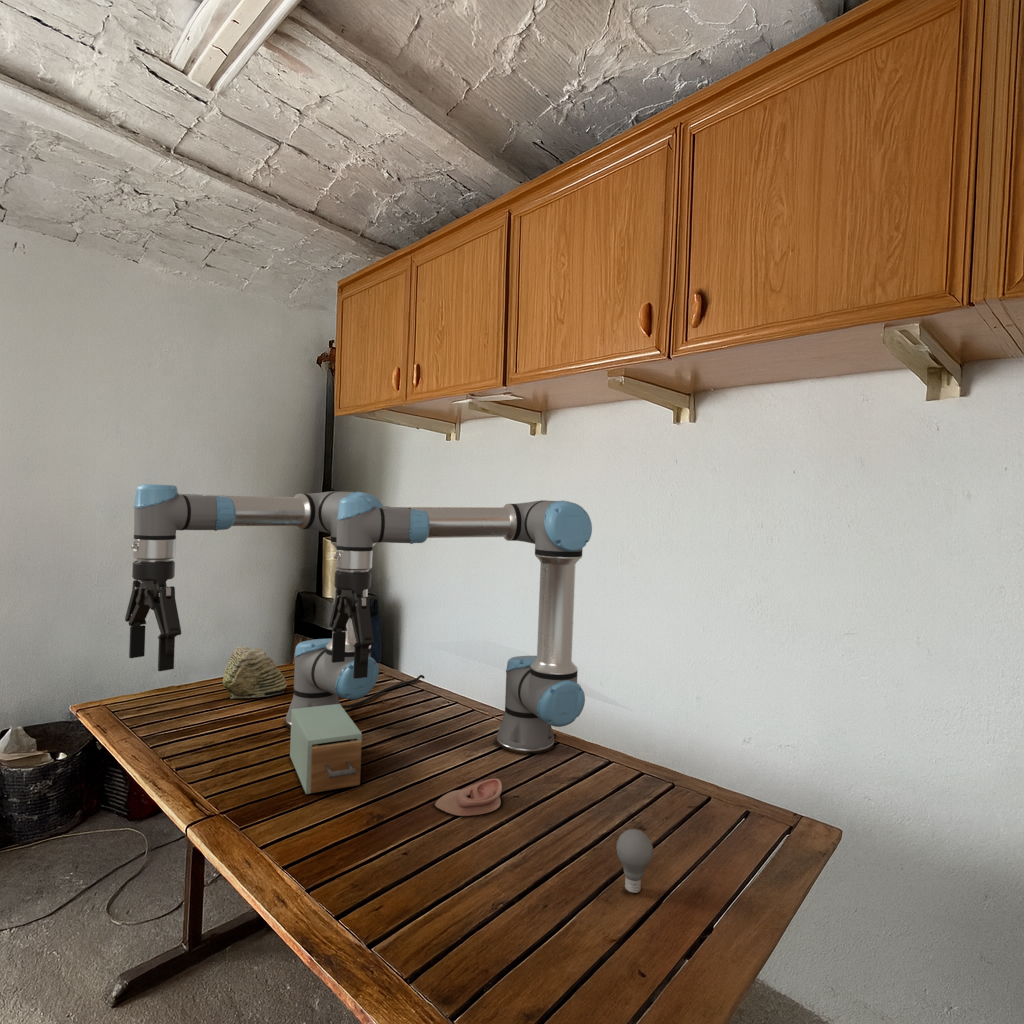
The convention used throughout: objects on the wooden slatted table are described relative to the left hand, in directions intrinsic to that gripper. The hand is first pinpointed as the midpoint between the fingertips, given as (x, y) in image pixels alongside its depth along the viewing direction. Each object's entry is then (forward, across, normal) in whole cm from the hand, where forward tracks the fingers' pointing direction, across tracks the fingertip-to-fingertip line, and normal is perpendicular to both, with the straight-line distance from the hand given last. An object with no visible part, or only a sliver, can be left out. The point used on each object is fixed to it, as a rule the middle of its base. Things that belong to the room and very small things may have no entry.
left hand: (150, 663), depth 129 cm
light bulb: (+28, +90, +39) cm, 102 cm away
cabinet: (+28, +14, +32) cm, 45 cm away
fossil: (+28, -46, +50) cm, 74 cm away
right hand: (+1, +28, +28) cm, 40 cm away
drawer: (+27, +19, +30) cm, 45 cm away
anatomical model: (+28, +50, +43) cm, 72 cm away
